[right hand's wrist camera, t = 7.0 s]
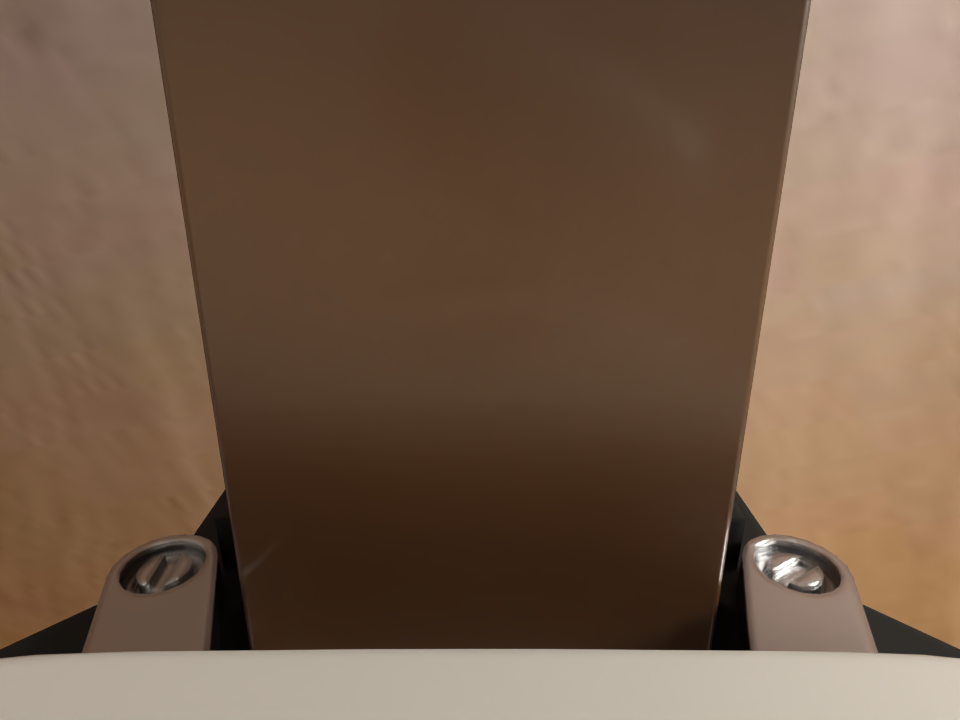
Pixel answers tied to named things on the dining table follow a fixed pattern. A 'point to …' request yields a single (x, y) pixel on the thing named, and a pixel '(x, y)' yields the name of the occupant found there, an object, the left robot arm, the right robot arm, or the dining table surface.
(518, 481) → the beam
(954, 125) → the dining table surface
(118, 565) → the right robot arm
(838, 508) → the dining table surface
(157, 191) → the dining table surface
